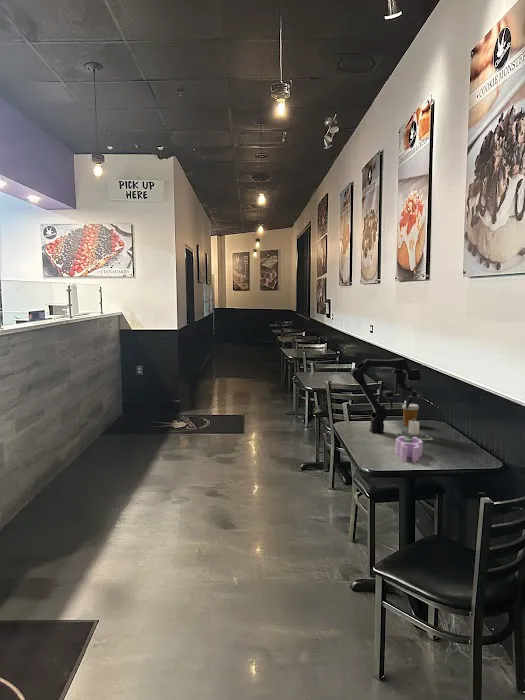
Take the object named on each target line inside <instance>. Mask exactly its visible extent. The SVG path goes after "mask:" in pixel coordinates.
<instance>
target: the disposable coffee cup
mask: <svg viewBox="0 0 525 700" xmlns="http://www.w3.org/2000/svg"><path fill="white" fill-rule="evenodd" d="M401 408H402V412H403V425H404V426H406V427H409V421H410V420H412V418H415V421H417V418H418V412H419V409H420V407H419V404H417V403H411V402H410V405H409V407H408V409H406V403H403V404H402V406H401Z"/></svg>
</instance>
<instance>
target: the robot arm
mask: <svg viewBox="0 0 525 700" xmlns="http://www.w3.org/2000/svg"><path fill="white" fill-rule="evenodd" d="M369 368H393V370H392V371H391V373H392V374H395V377H394V382H393V384H394V389H393V391H391V390H383V391H382V393H381V395H382V397H384V398H386V400H387V402H388V405H389V407H390V410H393V408H394V407H393V402H394V396H401V397H402V398H405V404H406V409H408V407H409V405H410V403H411V402H412V401H413V400H414V399H416V398H417V397H419V396H418V394H419V393H418V391H416V390H414V389H415V388H414V387H408V383H407V381H408V382H420V381H421V378H422V377H421V372H420V369H419V368H414V369H412V368H410V367H409V363H408V361H407V360H406V359H404V358H401V357H397V358H393V359H368V358H366V359H364V360H363V361H362V362H361V363H359V364H358V365H357V366H356V367H353V368H351V369H350V372H349V374H350V376H351V378H352V379H353V380H354V381H355V382H356V383H357V384H358V385H359V386H360V388H361V390H362V392H363V393H364V395H365V396H366V398H367V400H368V402H369V403H370V405H371V407H372V411H373V412H372V413H371V415H369V417H370V419H371V420H370V427H369V428H370V429H369V432H371V433H372V434H385V423H384V421H385V419H386V418H388V410H387V408H386V407H385V405H384V403H382V402H379V401H378V399H377V398H376V396H375V395H374V393H373V391H372V389H371V388H370V387H369V385H368V383H367V382H366V378H365V375H364V374H365V373H366V372H367V371H368V369H369Z"/></svg>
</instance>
